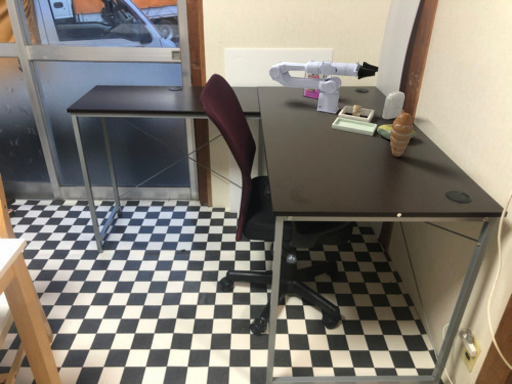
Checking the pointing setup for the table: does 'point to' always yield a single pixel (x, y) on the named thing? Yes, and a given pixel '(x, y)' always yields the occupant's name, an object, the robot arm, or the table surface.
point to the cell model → (389, 131)
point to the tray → (354, 126)
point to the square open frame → (350, 110)
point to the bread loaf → (356, 110)
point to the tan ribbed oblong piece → (401, 133)
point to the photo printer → (393, 105)
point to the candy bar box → (312, 92)
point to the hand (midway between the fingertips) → (376, 71)
